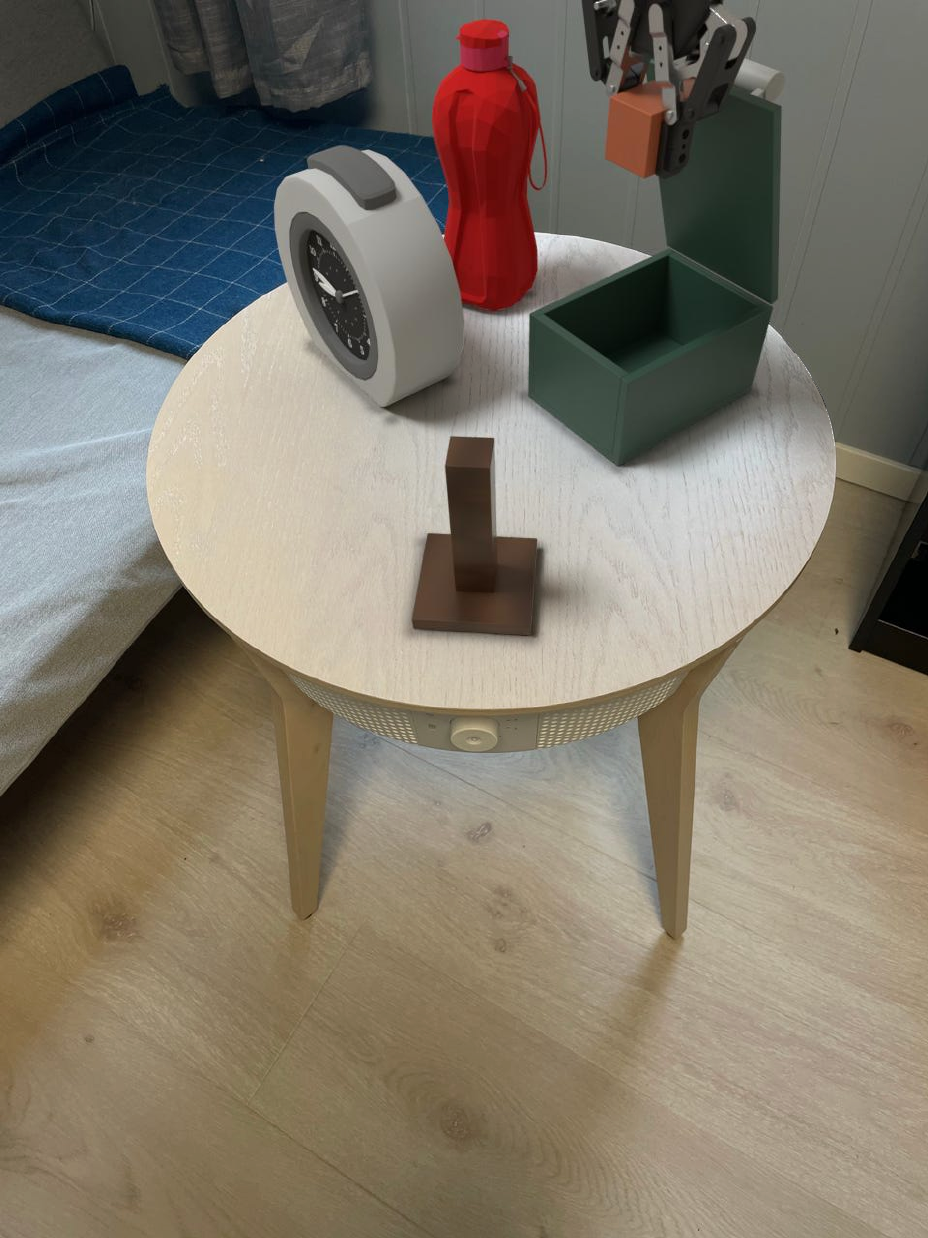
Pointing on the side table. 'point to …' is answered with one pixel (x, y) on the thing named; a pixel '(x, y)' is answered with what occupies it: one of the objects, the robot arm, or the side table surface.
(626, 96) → the block
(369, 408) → the side table surface
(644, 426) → the bin
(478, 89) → the water bottle
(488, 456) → the stand
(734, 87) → the bin lid
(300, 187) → the alarm clock
